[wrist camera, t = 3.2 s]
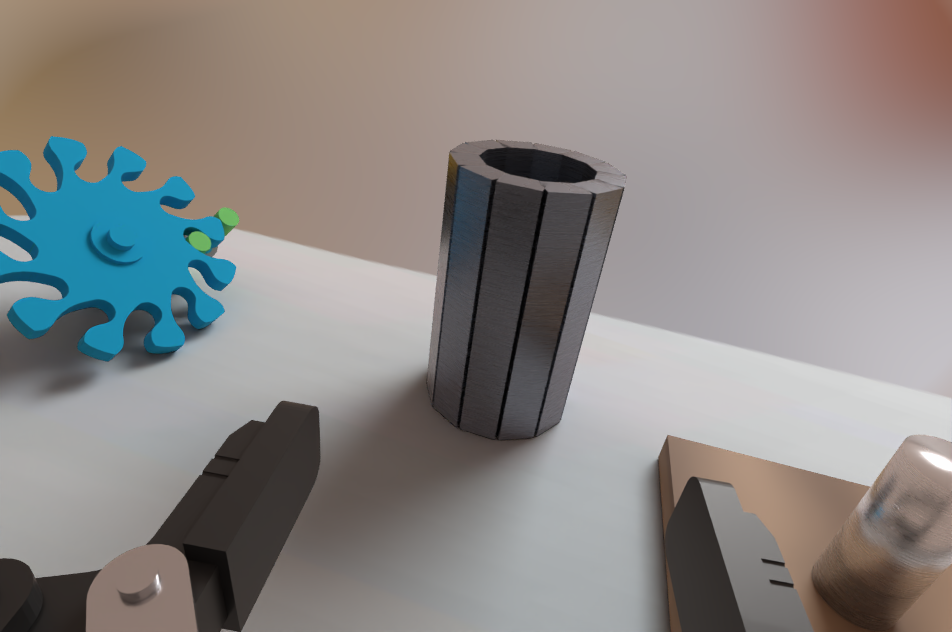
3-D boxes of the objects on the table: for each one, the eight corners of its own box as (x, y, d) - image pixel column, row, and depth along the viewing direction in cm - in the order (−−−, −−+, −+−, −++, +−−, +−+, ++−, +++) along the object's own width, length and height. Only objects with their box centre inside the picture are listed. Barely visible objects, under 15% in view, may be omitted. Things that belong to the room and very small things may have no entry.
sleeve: (496, 462, 20) (548, 204, 15) (400, 378, 23) (415, 147, 18) (591, 401, 24) (659, 180, 19) (496, 337, 27) (531, 136, 22)
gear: (37, 388, 18) (-102, 122, 18) (-4, 433, 21) (-121, 210, 21) (294, 306, 27) (202, 130, 27) (237, 347, 30) (155, 190, 30)
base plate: (679, 750, 13) (696, 727, 12) (658, 457, 21) (667, 434, 21) (1161, 914, 11) (1209, 898, 11) (932, 529, 20) (951, 507, 19)
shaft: (885, 648, 14) (1009, 520, 12) (800, 587, 16) (894, 459, 13) (903, 598, 16) (1017, 474, 13) (824, 545, 17) (913, 423, 14)
